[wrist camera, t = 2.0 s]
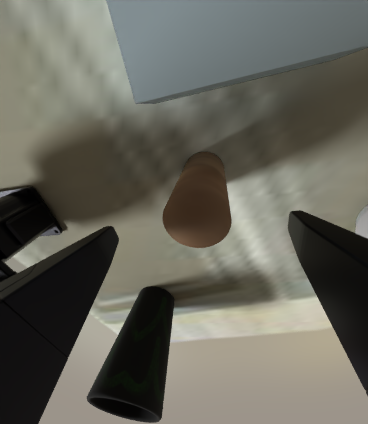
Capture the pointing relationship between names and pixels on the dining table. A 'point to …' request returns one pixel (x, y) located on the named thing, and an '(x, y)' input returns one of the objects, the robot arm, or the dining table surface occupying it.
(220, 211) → the dowel
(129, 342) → the cup
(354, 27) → the socket
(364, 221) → the energy drink can
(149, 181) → the dining table surface
